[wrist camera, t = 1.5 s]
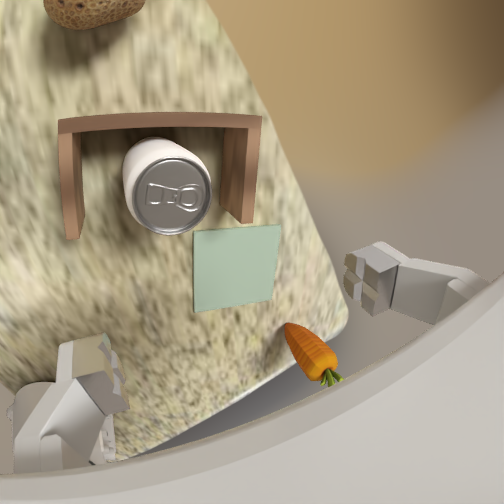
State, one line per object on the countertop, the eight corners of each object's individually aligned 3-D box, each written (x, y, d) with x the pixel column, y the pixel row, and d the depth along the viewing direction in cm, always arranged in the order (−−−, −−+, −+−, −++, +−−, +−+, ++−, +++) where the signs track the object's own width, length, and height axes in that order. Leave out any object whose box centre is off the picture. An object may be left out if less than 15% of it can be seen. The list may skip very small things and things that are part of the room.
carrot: (305, 318, 49) (363, 380, 37) (284, 340, 50) (336, 406, 37) (288, 305, 47) (348, 372, 34) (265, 329, 47) (318, 400, 35)
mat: (270, 298, 44) (271, 299, 44) (193, 310, 40) (194, 312, 40) (279, 224, 40) (281, 225, 39) (193, 231, 35) (194, 232, 35)
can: (178, 199, 33) (209, 243, 23) (118, 195, 30) (122, 239, 20) (188, 139, 31) (226, 156, 21) (127, 133, 28) (132, 145, 18)
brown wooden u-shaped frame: (229, 203, 36) (252, 223, 31) (74, 216, 29) (66, 240, 24) (236, 113, 32) (262, 116, 26) (69, 117, 25) (58, 119, 19)
